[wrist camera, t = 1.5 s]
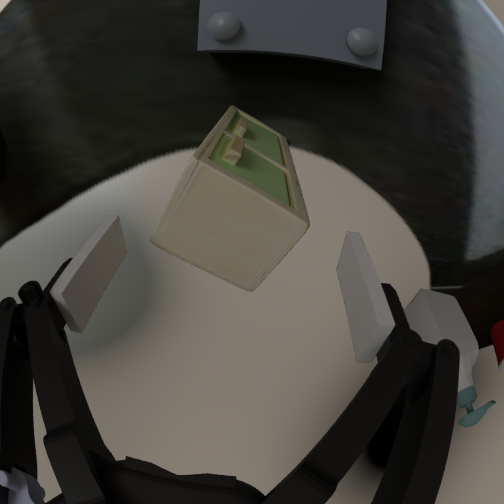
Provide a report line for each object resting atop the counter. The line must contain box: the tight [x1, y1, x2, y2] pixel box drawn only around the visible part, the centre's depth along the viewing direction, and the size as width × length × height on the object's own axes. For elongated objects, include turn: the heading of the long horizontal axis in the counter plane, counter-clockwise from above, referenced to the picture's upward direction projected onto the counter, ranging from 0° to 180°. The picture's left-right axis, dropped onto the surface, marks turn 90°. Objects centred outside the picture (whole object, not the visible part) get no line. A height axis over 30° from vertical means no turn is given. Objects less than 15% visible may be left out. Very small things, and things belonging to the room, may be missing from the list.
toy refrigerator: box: [150, 106, 310, 291], centre depth 25 cm, size 8×7×21 cm
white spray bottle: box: [404, 289, 496, 427], centre depth 38 cm, size 11×8×27 cm
